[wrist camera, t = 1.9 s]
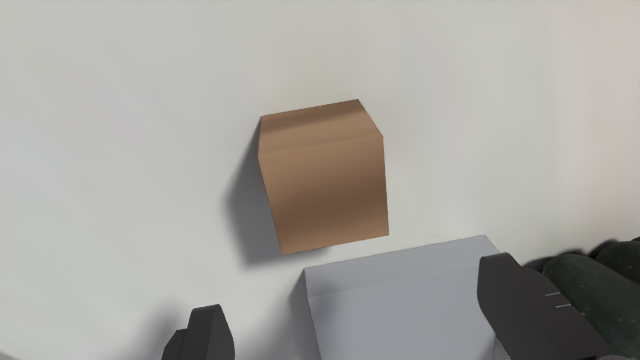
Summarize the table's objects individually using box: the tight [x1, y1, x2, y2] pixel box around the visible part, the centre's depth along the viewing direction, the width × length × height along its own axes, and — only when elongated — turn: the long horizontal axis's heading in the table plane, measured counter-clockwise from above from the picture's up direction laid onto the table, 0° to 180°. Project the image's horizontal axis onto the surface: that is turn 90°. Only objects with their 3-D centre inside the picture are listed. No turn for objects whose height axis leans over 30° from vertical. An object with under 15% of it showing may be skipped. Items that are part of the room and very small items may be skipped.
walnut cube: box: [258, 99, 389, 255], centre depth 18 cm, size 5×5×5 cm
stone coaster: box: [304, 235, 500, 360], centre depth 26 cm, size 12×12×2 cm
